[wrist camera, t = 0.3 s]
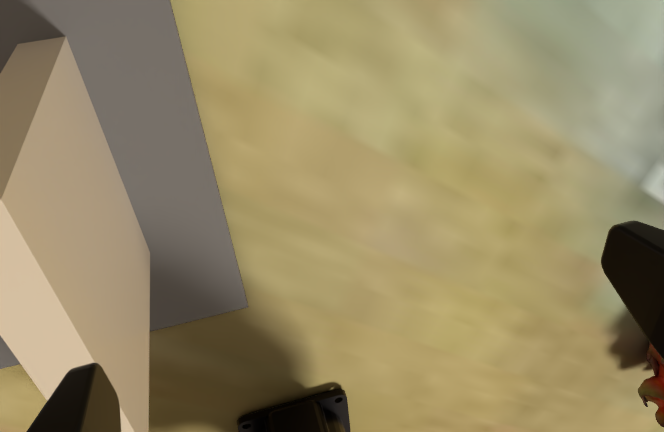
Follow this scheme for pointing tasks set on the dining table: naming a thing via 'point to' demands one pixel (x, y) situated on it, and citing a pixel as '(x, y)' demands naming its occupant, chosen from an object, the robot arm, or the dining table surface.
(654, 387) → the dragon fruit
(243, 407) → the dining table surface
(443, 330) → the dining table surface
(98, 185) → the tile
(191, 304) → the mat
